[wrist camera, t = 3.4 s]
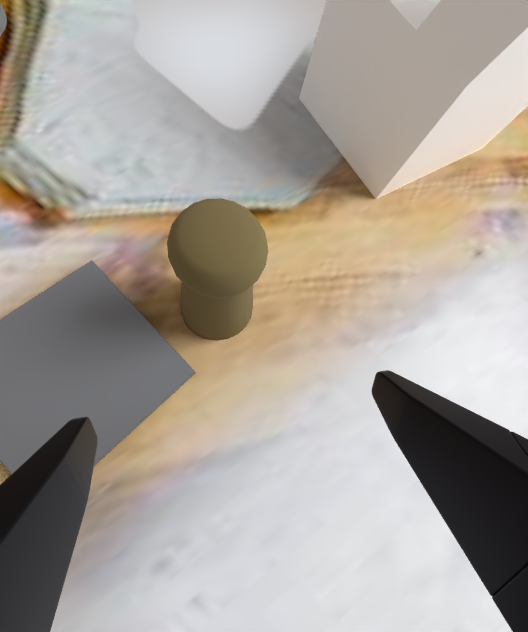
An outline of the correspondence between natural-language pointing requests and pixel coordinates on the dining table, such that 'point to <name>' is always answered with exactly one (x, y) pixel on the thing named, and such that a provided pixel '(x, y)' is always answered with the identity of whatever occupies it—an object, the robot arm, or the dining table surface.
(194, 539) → the dining table surface
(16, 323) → the charcoal mat
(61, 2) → the dining table surface
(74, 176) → the dining table surface
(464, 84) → the white slotted block
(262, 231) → the cork
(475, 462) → the robot arm
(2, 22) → the coffee mug
